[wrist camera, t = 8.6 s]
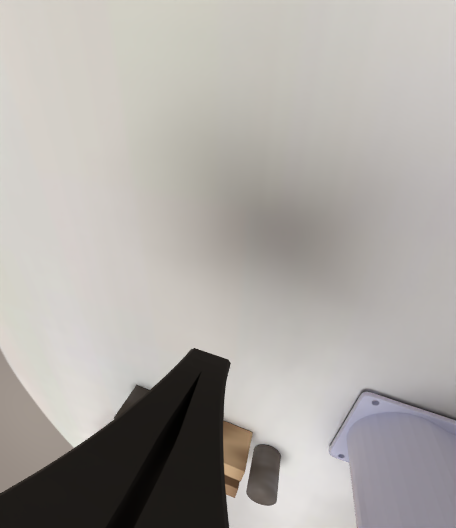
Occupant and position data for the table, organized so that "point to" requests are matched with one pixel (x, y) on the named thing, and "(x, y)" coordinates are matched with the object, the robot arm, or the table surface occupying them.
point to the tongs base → (260, 476)
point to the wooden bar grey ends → (233, 440)
